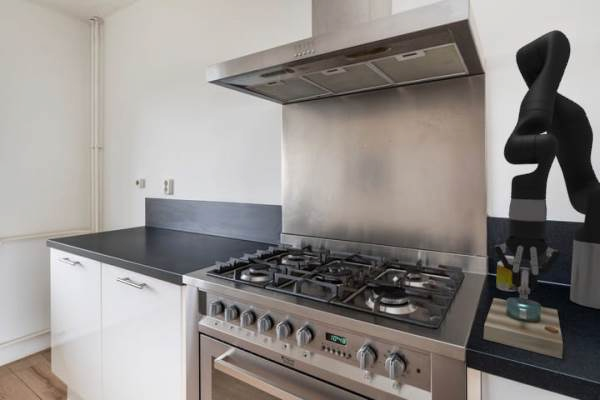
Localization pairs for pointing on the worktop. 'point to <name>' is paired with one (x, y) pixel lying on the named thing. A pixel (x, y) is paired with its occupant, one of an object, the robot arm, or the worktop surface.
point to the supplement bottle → (505, 276)
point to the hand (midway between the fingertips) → (524, 287)
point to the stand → (524, 330)
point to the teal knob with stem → (524, 300)
